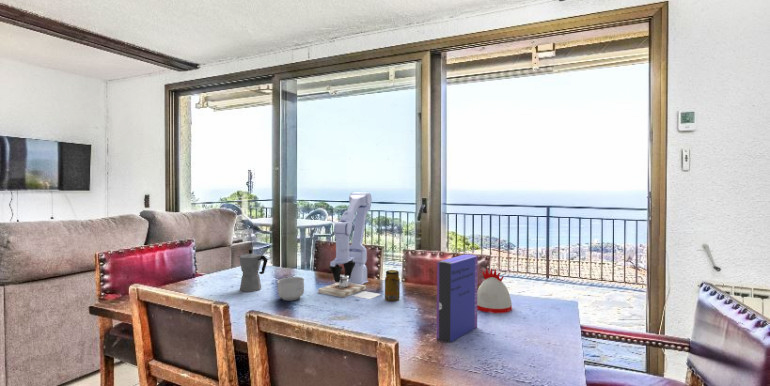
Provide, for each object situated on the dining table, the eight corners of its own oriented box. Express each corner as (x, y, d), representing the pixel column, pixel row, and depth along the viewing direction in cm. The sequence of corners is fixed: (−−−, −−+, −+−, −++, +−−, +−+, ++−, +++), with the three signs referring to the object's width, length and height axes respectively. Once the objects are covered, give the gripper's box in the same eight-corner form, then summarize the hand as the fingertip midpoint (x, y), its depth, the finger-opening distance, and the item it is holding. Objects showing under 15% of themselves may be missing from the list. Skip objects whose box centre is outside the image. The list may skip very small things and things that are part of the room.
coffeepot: (231, 290, 183) (231, 250, 183) (245, 285, 192) (245, 247, 191) (260, 293, 178) (260, 252, 177) (273, 288, 187) (273, 248, 186)
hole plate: (341, 285, 192) (341, 281, 192) (366, 289, 185) (366, 285, 185) (318, 293, 179) (318, 288, 179) (344, 298, 171) (344, 293, 171)
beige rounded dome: (481, 300, 169) (481, 264, 168) (515, 305, 162) (515, 267, 161) (469, 309, 157) (469, 270, 156) (506, 315, 150) (506, 274, 149)
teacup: (300, 302, 165) (300, 282, 165) (273, 302, 165) (273, 282, 165) (308, 293, 179) (308, 275, 179) (283, 293, 179) (283, 274, 179)
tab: (364, 292, 181) (364, 291, 181) (381, 295, 176) (381, 294, 176) (352, 296, 173) (352, 295, 173) (369, 300, 169) (369, 299, 169)
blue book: (464, 324, 140) (464, 253, 140) (477, 327, 137) (477, 255, 136) (436, 339, 127) (437, 261, 126) (450, 343, 124) (450, 263, 123)
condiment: (393, 297, 173) (393, 268, 173) (406, 301, 167) (407, 272, 167) (379, 300, 169) (379, 271, 169) (393, 304, 162) (393, 274, 162)
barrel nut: (345, 289, 185) (345, 274, 185) (351, 291, 181) (351, 276, 181) (335, 291, 182) (335, 275, 182) (341, 293, 178) (341, 277, 178)
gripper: (345, 246, 190) (345, 275, 190) (324, 250, 177) (324, 282, 178) (358, 247, 186) (357, 277, 186) (337, 252, 174) (337, 284, 174)
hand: (342, 280), depth 182 cm, fingers open, 7 cm apart
